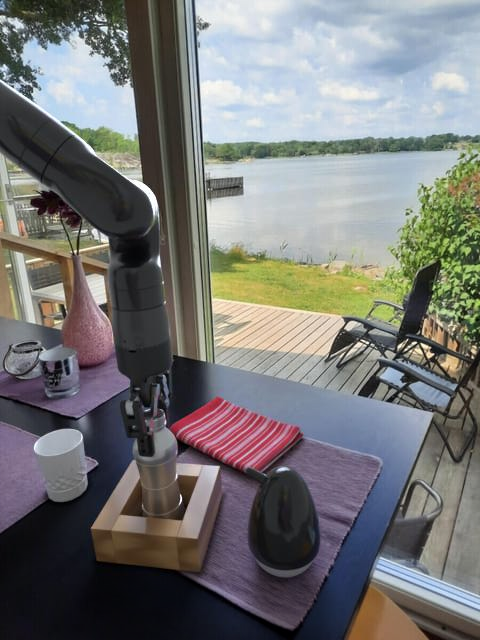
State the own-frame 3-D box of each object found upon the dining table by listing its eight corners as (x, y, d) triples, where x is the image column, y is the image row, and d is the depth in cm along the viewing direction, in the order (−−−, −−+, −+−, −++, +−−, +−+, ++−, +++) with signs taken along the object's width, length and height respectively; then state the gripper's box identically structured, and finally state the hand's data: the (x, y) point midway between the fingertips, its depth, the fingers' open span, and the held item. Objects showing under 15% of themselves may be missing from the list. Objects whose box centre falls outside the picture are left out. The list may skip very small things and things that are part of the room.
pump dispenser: (261, 523, 69) (259, 441, 65) (326, 542, 66) (329, 456, 61) (235, 576, 61) (231, 486, 56) (309, 601, 57) (312, 506, 52)
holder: (96, 561, 64) (90, 528, 62) (136, 487, 78) (132, 459, 76) (200, 572, 61) (197, 539, 59) (222, 495, 76) (220, 465, 74)
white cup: (70, 509, 74) (60, 459, 71) (34, 499, 77) (22, 450, 73) (100, 479, 81) (92, 432, 78) (65, 471, 84) (56, 425, 80)
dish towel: (219, 403, 105) (218, 393, 105) (305, 437, 91) (305, 425, 90) (165, 436, 93) (164, 426, 92) (255, 481, 79) (254, 469, 78)
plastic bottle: (193, 527, 69) (183, 416, 63) (153, 548, 66) (138, 432, 59) (175, 504, 74) (164, 398, 68) (136, 522, 71) (121, 412, 64)
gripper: (136, 317, 67) (147, 414, 72) (91, 356, 53) (109, 471, 59) (184, 318, 65) (192, 417, 71) (150, 358, 52) (163, 476, 58)
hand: (154, 441), depth 65 cm, fingers closed on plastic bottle, 6 cm apart
